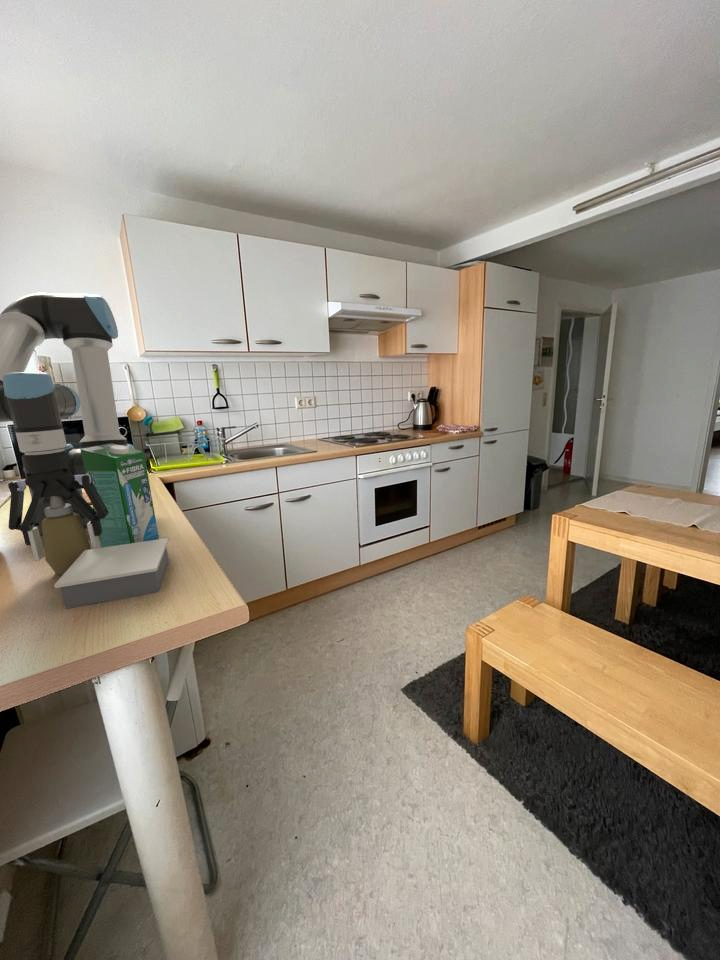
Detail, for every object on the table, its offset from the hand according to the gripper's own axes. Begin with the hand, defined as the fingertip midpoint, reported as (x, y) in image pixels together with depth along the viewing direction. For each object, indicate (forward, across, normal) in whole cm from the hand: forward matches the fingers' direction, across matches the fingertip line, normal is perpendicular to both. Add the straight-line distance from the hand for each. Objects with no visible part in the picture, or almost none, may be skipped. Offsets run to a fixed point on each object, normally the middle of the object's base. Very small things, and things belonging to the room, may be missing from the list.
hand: (69, 553), depth 84 cm
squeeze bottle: (+4, 0, 0) cm, 4 cm away
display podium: (+4, +12, -11) cm, 17 cm away
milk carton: (+4, +9, +12) cm, 15 cm away
